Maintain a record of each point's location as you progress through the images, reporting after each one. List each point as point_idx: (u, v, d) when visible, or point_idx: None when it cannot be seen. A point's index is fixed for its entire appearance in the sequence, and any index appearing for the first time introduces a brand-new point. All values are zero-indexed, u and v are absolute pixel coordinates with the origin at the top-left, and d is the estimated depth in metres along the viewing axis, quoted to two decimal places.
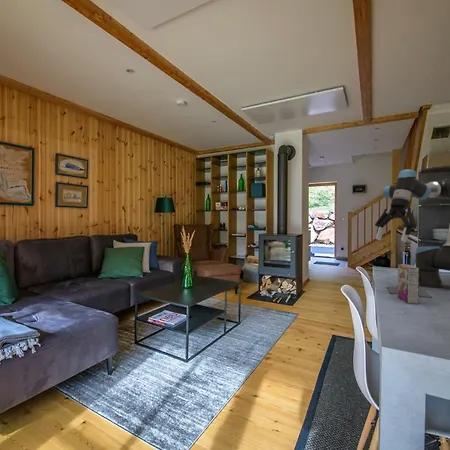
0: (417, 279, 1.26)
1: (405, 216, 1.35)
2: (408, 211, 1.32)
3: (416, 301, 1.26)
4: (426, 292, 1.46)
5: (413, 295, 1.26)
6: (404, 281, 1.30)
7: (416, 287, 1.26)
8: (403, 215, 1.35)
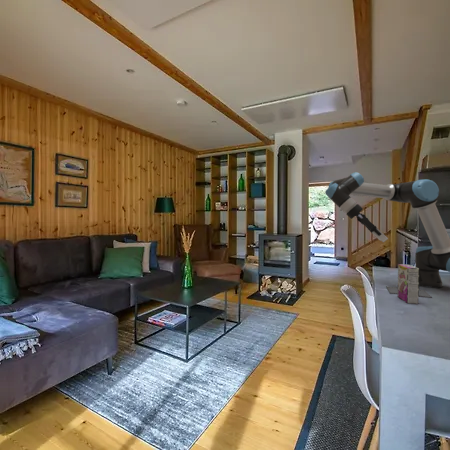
0: (417, 279, 1.26)
1: None
2: (359, 219, 1.34)
3: (416, 301, 1.26)
4: (426, 292, 1.46)
5: (413, 295, 1.26)
6: (404, 281, 1.30)
7: (416, 287, 1.26)
8: None
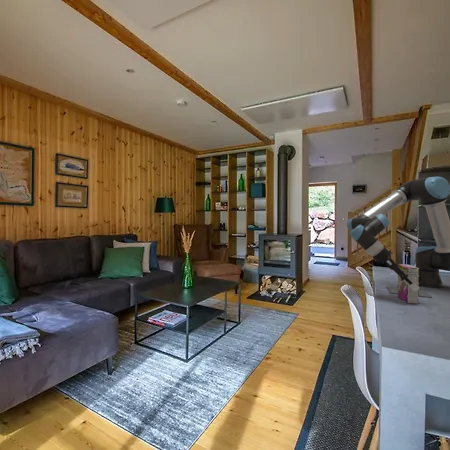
0: (417, 279, 1.26)
1: (394, 264, 1.31)
2: (388, 265, 1.30)
3: (416, 301, 1.26)
4: (426, 292, 1.46)
5: (413, 295, 1.26)
6: None
7: None
8: None
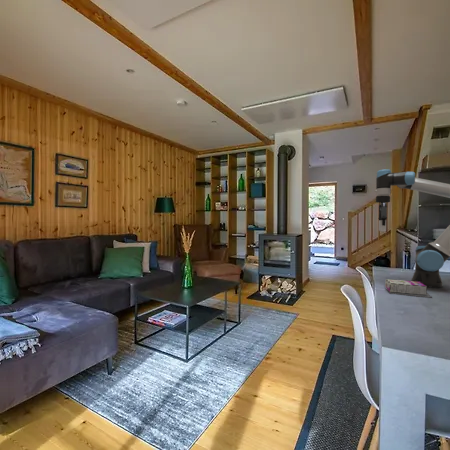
0: (401, 285, 1.43)
1: (385, 209, 1.64)
2: (381, 206, 1.63)
3: (424, 287, 1.40)
4: None
5: (418, 289, 1.40)
6: None
7: (409, 286, 1.42)
8: None
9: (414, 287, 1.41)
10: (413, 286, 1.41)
